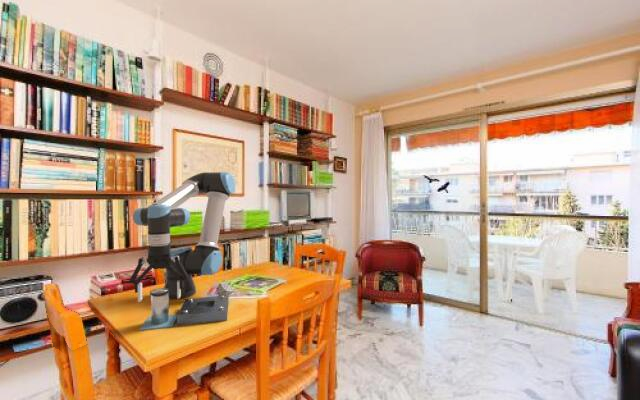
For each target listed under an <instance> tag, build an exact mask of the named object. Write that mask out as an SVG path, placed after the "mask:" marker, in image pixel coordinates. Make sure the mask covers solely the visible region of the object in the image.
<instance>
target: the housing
mask: <svg viewBox="0 0 640 400" xmlns="http://www.w3.org/2000/svg"><path fill="white" fill-rule="evenodd" d="M229 302H230V301H229V296H228V295H224V296H219V295H215V296H206V297H205V296H204V297H195V298H194V297H193V298H185V299H184V301H183V303H182V306H181V307H180V309H179V311H178V313H177V314H178V315H177V319H176V323H177V324H176V326H177V327H178V326H179V327H180V326H189V325H199V324H207V323H216V322H217V323H218V322H224V321H225V322H227V320H228V314H229Z"/></svg>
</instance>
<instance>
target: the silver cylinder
mask: <svg viewBox="0 0 640 400" xmlns="http://www.w3.org/2000/svg"><path fill="white" fill-rule="evenodd" d="M169 292H170V289H169V288H164V287H160V288H159V287H158V288H154V289H151V290H150V291H149V296H150V317H151V324H153V325H159V324H164V323H166V322H168V321H169V315H170V311H169V310H170V309H169V308H170V305H169V304H170V302H169V301H170V299H169Z"/></svg>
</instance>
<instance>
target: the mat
mask: <svg viewBox="0 0 640 400" xmlns="http://www.w3.org/2000/svg"><path fill="white" fill-rule="evenodd" d="M177 315H178V313H175V314H169V321H168V322H166V323H164V324H159V325H153V324H151V316H148V317H147V319H146V320H145V321H144V323H143V324H142V325H141V327H139V331H150V330H157V329H158V330H159V329H160V330H161V329H168V328H173V327H174V325H175V324H176V322H177Z"/></svg>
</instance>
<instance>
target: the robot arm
mask: <svg viewBox="0 0 640 400" xmlns="http://www.w3.org/2000/svg"><path fill="white" fill-rule="evenodd" d="M235 191H236V182H235V178H234V176H233V175H232V173H230V172H224V171H220V172H219V171H218V172H217V171H216V172H213V171H212V172H211V171H210V172H206V171H205V172H201V173H197V174H195V175H193V176H190V177H188V178H187V179H185V180H184V181H183V182H182V183H181V185H180V186H178V187H176V188H175V189H174V190H172V191H170V192H169V193H168V194H166V195H165V196H163V197H161V198H160V199H158V200H156V201H154V203H152V204H150V205H148V206H147V207H140V208H136V209H135V210H134V212H132V213H133V214H132V221H133V223H134V225H136V226H137V225H138V226H142V227H143V226H144V227H147V244H148V247H147V257H144V256H143V257H142V256H141V257H140V258H138V261H137V266H136V267H135V269H134V271H133V273H132V275H131V277H130V278H129V281H128V284H133V285H134V293H135V294H136V293H137V303H141V302H142V300H143V282H141V281H142V280H143V279H144V278H145V277H146V275H147V274H148V273H149V272H150V271H152V269H154V270H159V269H161V270H162V269H165V283H164V285H163V288H169V289H170V292H169V300H179V299H180V300H181V299H184V298H185V299H187V298H189V297H192V296H194V295H196V292H197V288H196V284H195V282H194V279H193V275H197V276H198V275H200V276H201V275H203V276H213V275H215V274H217V272H218V271H219V270H220V269H221V267H222V265H223V261H224V259H223V253H222V252H221V251H220V246H218V242H219V236H220V232H221V227H222V221H223V215H224V211H225V205H226V201H228V200H229V199H230V195H232V194H234V193H235ZM203 194H204V195H205V194H206V197H207V202H206V203H207V204H206V207H205V211H204V212H205V213H204V218H203V222H202V228H201V232H200V237H199V242H198V243H197V244H195V246H194V249H193V247H192V246H182V247H181V246H180V247H176V248H171V228H173V227H182V226H185V225H188V223H189V222H190V220H191V213H190V211H189V210H188V209H186V208H183V207H182V208H181V207H180V206H181V205H183V204H184V203H186V201H188V200H189V199H191V198H195V197H197V196H198V195H203ZM146 262H147V264H148V267H146V269H144V271H143V272H142V273H141V274H140V275H139V272H140V271H141V269H142V267H143V265H144V264H145V263H146ZM138 275H139V277H138ZM137 277H138V278H137ZM136 278H137V279H136Z"/></svg>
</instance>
